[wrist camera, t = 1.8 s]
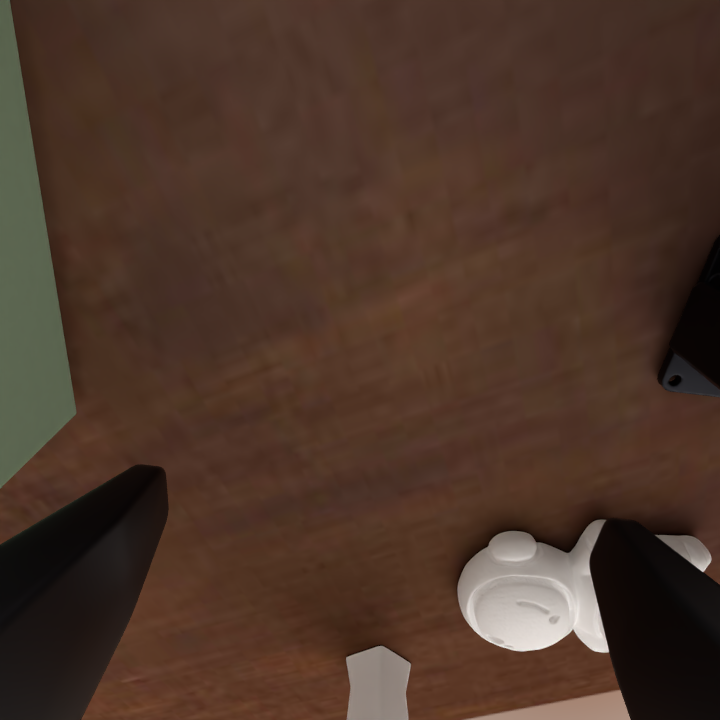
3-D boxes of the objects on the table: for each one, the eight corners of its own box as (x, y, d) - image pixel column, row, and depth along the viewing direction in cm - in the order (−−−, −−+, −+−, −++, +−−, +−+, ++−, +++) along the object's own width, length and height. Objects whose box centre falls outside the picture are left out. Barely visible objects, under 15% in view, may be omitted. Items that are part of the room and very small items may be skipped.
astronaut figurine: (674, 632, 28) (706, 688, 25) (455, 634, 29) (463, 688, 26) (712, 511, 24) (754, 562, 21) (458, 517, 25) (467, 566, 22)
